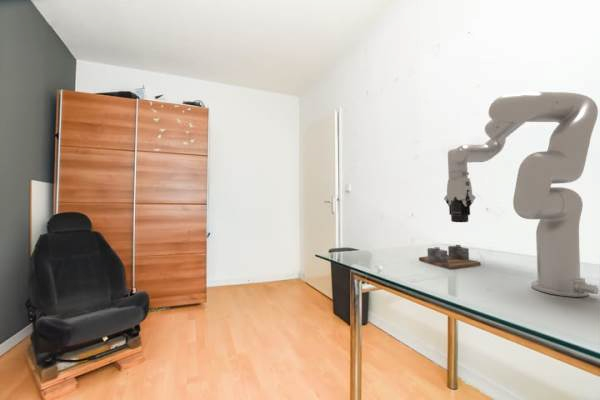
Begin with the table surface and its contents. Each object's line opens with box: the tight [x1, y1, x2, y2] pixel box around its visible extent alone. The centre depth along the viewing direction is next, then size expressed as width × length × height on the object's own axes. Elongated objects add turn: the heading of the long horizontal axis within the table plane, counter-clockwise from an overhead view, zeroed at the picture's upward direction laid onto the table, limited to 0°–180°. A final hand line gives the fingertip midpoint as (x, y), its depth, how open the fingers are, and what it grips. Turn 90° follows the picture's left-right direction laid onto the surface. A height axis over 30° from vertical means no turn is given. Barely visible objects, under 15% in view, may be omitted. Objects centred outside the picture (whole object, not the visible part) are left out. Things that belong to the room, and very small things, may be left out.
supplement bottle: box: [450, 197, 469, 223], centre depth 122 cm, size 7×7×12 cm
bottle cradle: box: [418, 244, 481, 270], centre depth 120 cm, size 18×16×8 cm
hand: (459, 214), depth 122 cm, fingers closed on supplement bottle, 6 cm apart
